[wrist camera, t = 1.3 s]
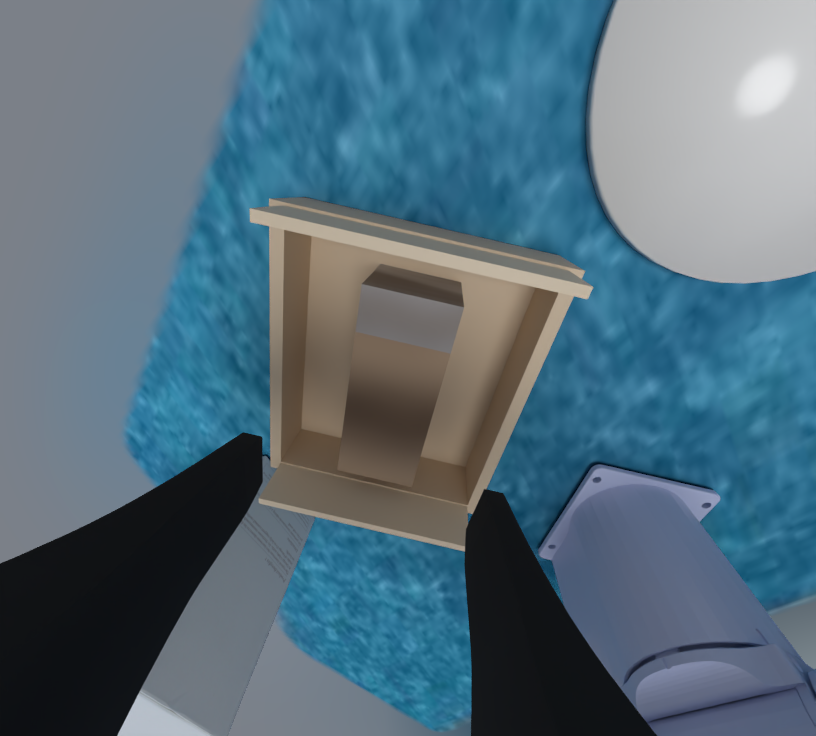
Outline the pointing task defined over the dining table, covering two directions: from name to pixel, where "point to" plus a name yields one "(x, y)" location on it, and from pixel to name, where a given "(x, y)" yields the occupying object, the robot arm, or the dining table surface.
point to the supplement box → (222, 628)
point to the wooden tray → (464, 377)
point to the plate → (708, 134)
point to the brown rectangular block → (397, 370)
